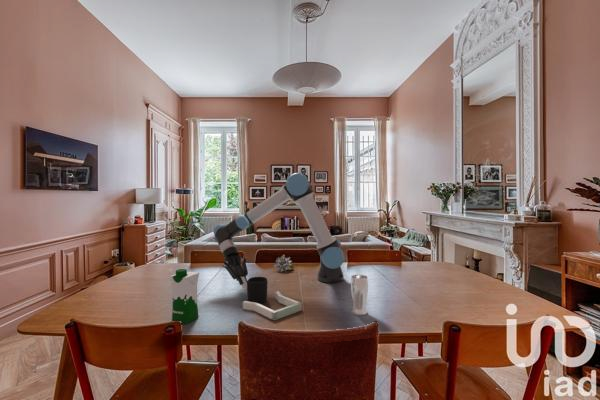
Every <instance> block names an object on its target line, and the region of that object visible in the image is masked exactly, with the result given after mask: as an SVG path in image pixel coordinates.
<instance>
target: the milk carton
mask: <svg viewBox="0 0 600 400" xmlns="http://www.w3.org/2000/svg"><path fill="white" fill-rule="evenodd" d="M199 277H200V272H196V271H195V272H193V271H188V269H187V268H186V269H185V268H181V269H176V270H175V274H172V275H170V276H169V278H170V281H171V287H172V288H171V289H172V290H171V292H172V295H171V296H172V313H171V322H172V321H181V322H182V323H181V324H183V325H188V324H190V323H191V322H193V321H195V320H196V319H198V318H200V317H199V309H198V282H199Z"/></svg>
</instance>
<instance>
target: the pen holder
mask: <svg viewBox="0 0 600 400" xmlns="http://www.w3.org/2000/svg"><path fill="white" fill-rule="evenodd" d="M246 292H247V301H249V302H256V303H259V304H261V305H263V304H264V303H266V302H267V298H268V279H267V277H265V276H253V277H250V278H249V279H247V291H246Z"/></svg>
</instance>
